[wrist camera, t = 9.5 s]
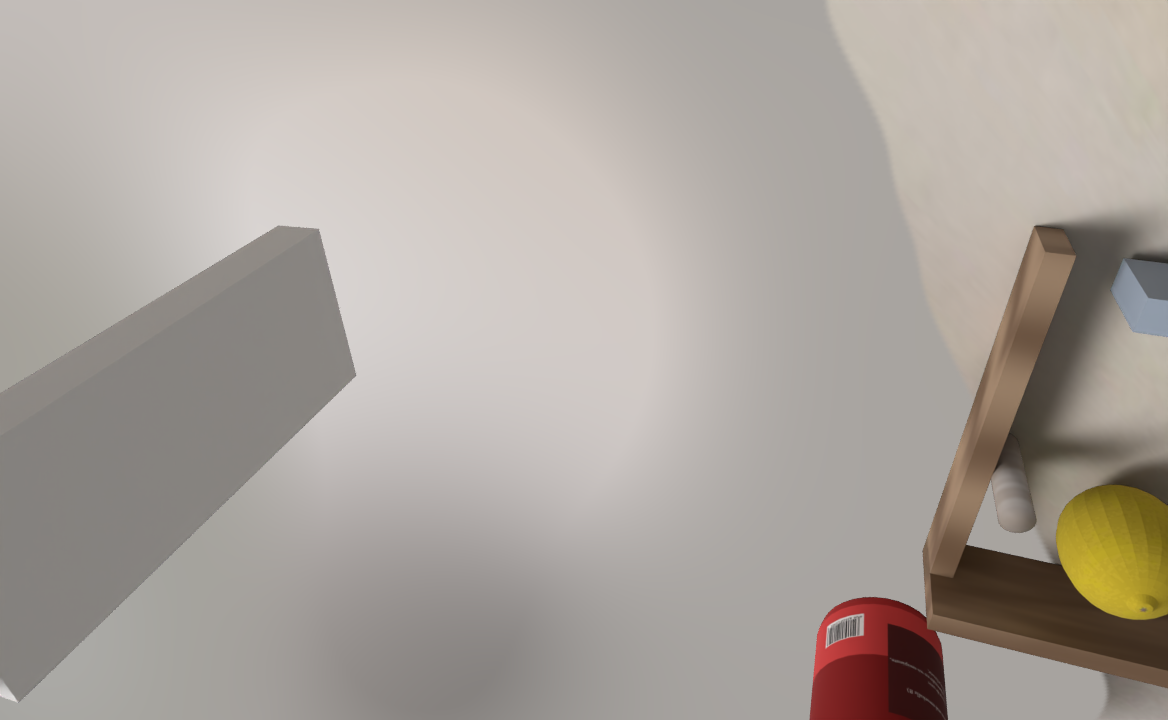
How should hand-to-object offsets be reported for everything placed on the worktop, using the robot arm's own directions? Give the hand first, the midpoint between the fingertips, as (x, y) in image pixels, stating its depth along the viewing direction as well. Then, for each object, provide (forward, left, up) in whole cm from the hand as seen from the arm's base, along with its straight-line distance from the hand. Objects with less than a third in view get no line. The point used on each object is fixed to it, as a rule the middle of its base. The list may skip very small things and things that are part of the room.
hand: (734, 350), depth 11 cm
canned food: (+37, +9, -29) cm, 48 cm away
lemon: (+23, +18, -29) cm, 41 cm away
